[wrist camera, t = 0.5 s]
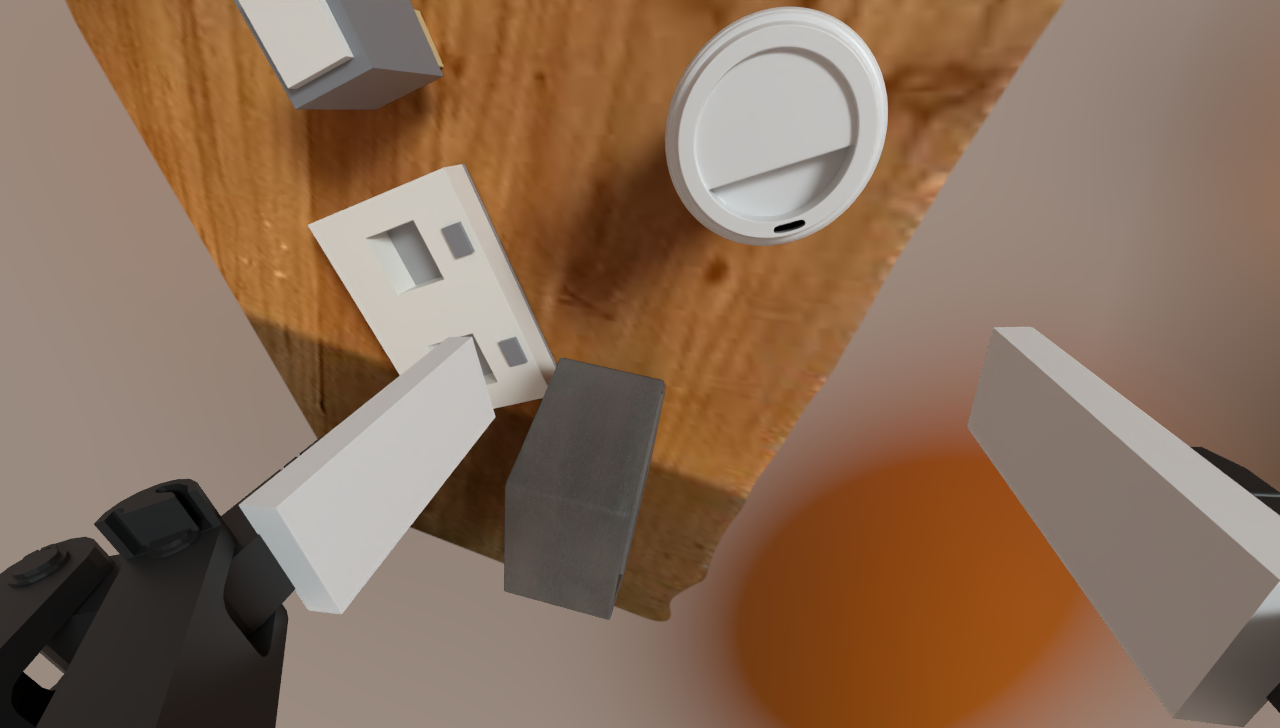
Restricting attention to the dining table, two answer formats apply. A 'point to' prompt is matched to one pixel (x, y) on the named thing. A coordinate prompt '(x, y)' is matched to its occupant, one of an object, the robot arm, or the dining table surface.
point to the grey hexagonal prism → (580, 486)
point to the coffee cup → (776, 126)
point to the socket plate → (439, 281)
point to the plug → (344, 50)
